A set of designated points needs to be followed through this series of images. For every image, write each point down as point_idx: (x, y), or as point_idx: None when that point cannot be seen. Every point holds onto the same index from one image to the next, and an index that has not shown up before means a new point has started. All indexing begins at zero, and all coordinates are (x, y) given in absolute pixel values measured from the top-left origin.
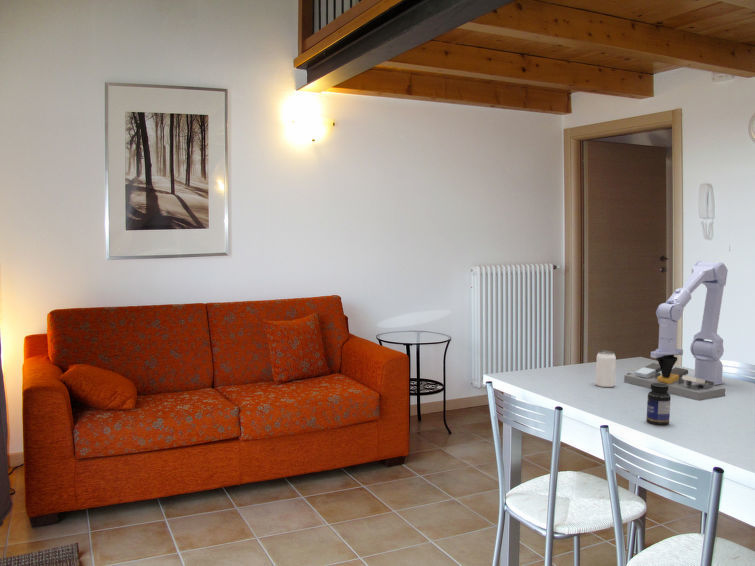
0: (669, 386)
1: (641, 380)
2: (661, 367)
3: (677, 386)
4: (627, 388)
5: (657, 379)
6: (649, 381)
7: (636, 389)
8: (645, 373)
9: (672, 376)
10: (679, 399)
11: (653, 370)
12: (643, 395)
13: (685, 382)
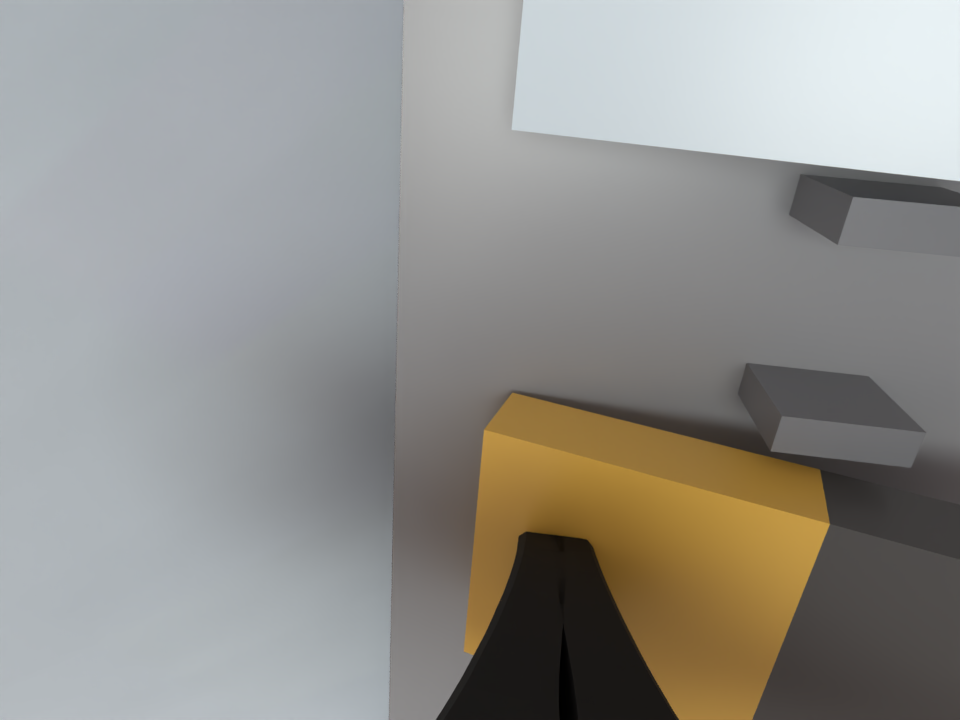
0: (393, 620)
1: (408, 71)
2: (473, 700)
3: None
4: (58, 46)
5: (500, 409)
6: (400, 284)
7: (158, 185)
8: (561, 63)
9: None
10: (265, 711)
11: (878, 153)
12: (9, 443)
13: None
